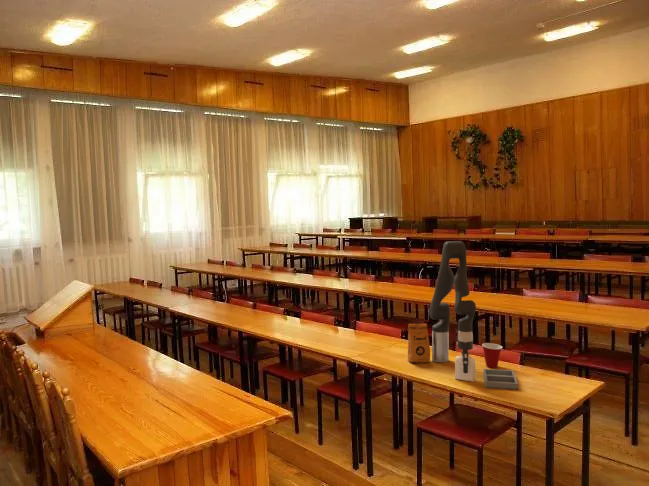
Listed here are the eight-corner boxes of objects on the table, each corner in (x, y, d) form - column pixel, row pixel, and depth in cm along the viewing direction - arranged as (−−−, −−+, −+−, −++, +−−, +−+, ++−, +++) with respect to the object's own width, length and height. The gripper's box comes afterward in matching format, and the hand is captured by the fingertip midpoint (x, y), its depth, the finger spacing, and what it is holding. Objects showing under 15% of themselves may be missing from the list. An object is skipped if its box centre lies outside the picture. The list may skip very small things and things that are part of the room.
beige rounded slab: (476, 379, 279) (476, 356, 278) (474, 382, 276) (474, 358, 275) (456, 377, 284) (456, 353, 284) (454, 379, 281) (454, 355, 280)
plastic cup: (503, 370, 295) (503, 348, 294) (482, 369, 297) (482, 347, 296) (501, 364, 305) (501, 342, 304) (481, 363, 307) (481, 342, 306)
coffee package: (431, 364, 308) (430, 325, 306) (408, 364, 308) (408, 325, 307) (428, 358, 318) (428, 321, 316) (407, 359, 318) (406, 321, 317)
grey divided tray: (485, 387, 267) (485, 382, 267) (483, 374, 288) (483, 368, 287) (518, 389, 264) (518, 383, 264) (513, 376, 284) (513, 370, 284)
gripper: (457, 335, 286) (457, 366, 287) (457, 342, 272) (457, 374, 273) (472, 336, 284) (472, 366, 286) (473, 343, 271) (473, 375, 272)
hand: (465, 370), depth 279 cm, fingers open, 8 cm apart
